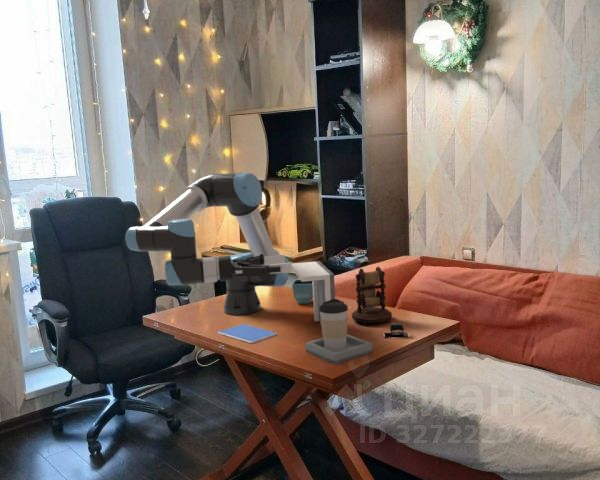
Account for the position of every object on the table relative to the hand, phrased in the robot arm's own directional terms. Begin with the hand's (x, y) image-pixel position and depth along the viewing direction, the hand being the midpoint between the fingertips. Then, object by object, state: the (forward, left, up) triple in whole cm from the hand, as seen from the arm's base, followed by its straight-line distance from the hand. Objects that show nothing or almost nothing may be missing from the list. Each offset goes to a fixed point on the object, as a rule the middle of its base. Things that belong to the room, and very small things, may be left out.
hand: (288, 263), depth 180 cm
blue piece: (-30, +1, -31) cm, 43 cm away
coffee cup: (+5, +13, -29) cm, 32 cm away
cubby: (-17, +20, -30) cm, 40 cm away
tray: (+7, +13, -30) cm, 33 cm away
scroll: (-11, +43, -30) cm, 54 cm away
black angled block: (+7, +38, -31) cm, 49 cm away
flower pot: (-50, +40, -30) cm, 71 cm away
